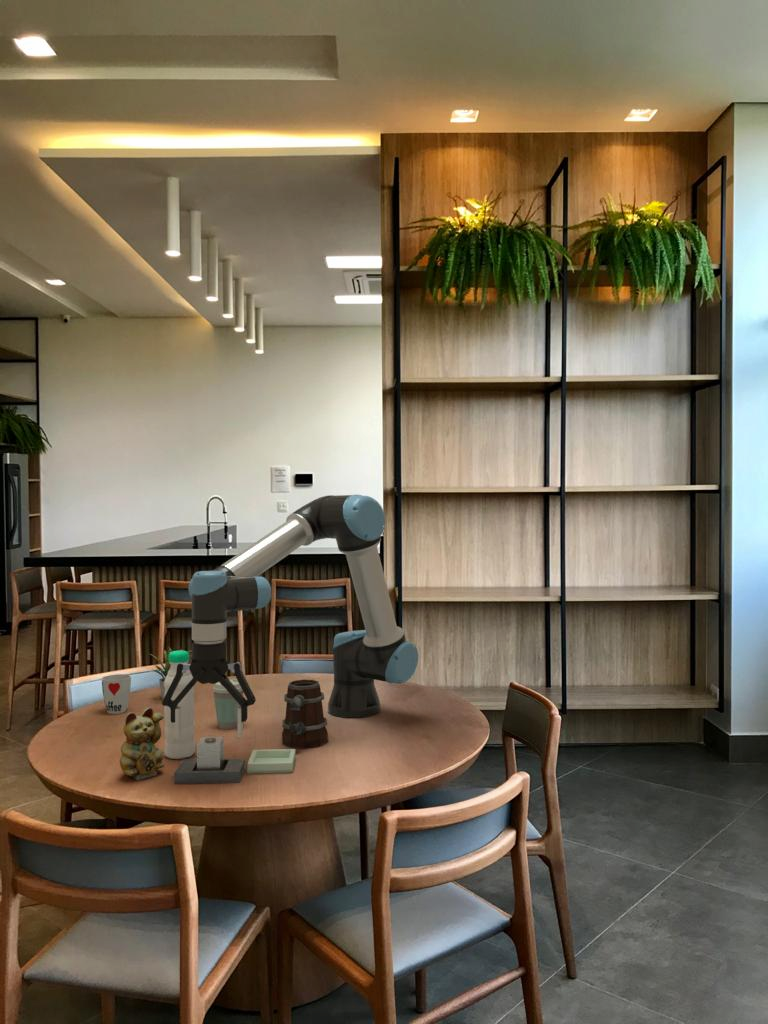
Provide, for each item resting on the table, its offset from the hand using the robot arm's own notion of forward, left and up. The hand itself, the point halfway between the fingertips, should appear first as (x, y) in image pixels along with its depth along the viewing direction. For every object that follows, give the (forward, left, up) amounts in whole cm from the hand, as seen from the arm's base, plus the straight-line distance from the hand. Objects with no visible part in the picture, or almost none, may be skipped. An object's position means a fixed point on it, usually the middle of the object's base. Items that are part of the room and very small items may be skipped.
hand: (209, 736), depth 176 cm
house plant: (+23, -69, -9) cm, 73 cm away
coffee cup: (+2, -39, -9) cm, 40 cm away
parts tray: (-13, -6, -9) cm, 17 cm away
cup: (+37, -56, -9) cm, 68 cm away
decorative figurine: (+16, -2, -9) cm, 18 cm away
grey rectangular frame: (0, 0, -9) cm, 9 cm away
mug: (-19, -22, -9) cm, 31 cm away
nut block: (0, 0, -9) cm, 9 cm away
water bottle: (+10, -15, -9) cm, 20 cm away
